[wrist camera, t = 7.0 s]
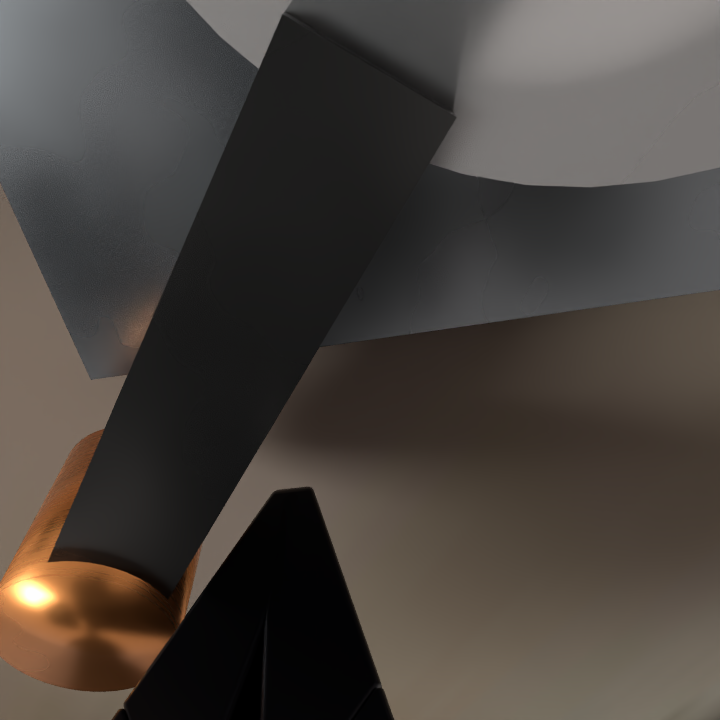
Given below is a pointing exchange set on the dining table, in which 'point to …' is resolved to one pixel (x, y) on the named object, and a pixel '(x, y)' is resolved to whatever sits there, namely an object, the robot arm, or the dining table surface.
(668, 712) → the dining table surface
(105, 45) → the chuck base
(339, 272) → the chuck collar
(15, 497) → the dining table surface
